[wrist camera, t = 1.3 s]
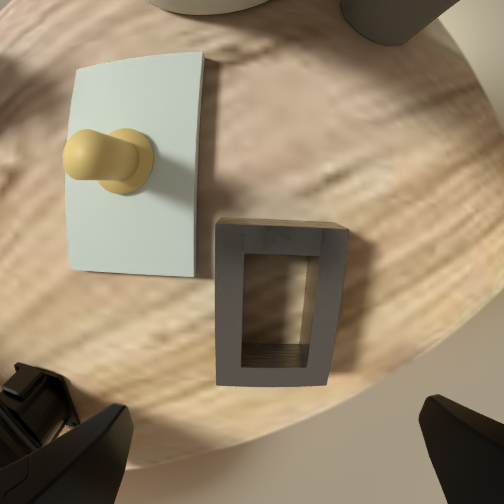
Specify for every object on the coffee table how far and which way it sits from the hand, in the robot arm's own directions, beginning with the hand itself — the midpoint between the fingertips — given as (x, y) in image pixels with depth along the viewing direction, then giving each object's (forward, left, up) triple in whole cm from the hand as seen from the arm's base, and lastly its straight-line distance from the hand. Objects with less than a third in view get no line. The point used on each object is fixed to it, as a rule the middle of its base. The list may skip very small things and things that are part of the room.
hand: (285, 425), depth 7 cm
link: (-1, -1, -12) cm, 12 cm away
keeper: (+8, +9, -12) cm, 17 cm away
